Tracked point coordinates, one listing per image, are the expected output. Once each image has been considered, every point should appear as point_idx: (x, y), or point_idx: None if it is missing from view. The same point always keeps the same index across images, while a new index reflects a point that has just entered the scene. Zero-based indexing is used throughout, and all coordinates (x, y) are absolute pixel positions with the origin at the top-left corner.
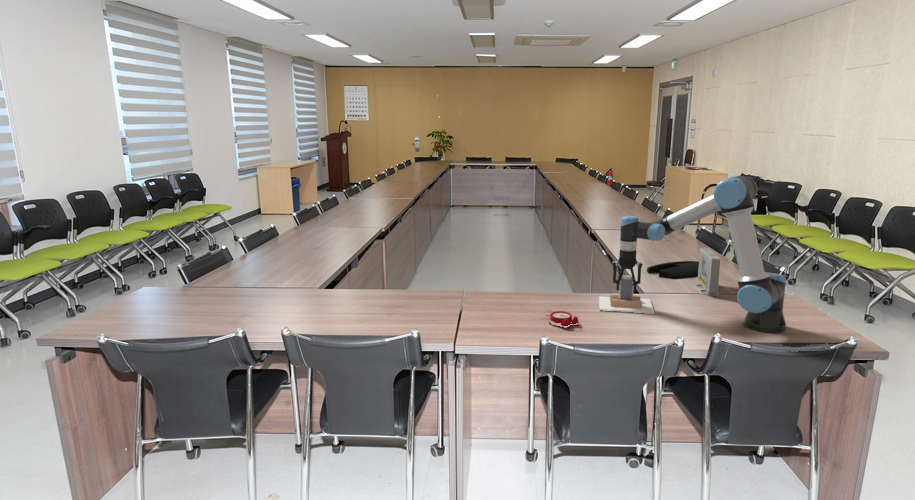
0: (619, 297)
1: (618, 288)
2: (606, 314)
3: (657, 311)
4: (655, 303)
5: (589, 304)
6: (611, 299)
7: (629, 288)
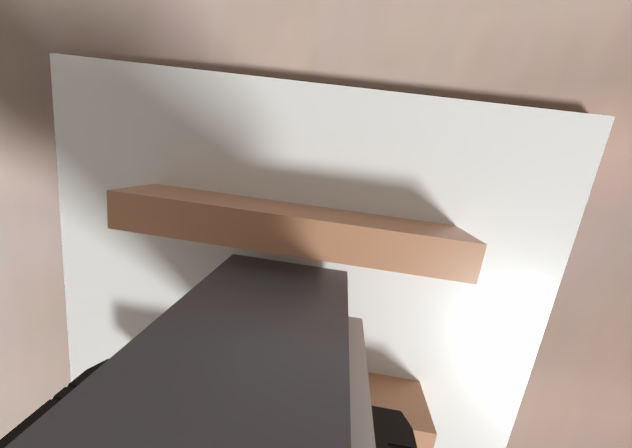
0: (354, 320)
1: (381, 442)
2: (548, 6)
3: (41, 148)
4: (50, 351)
5: (627, 331)
6: (467, 271)
7: (166, 365)
